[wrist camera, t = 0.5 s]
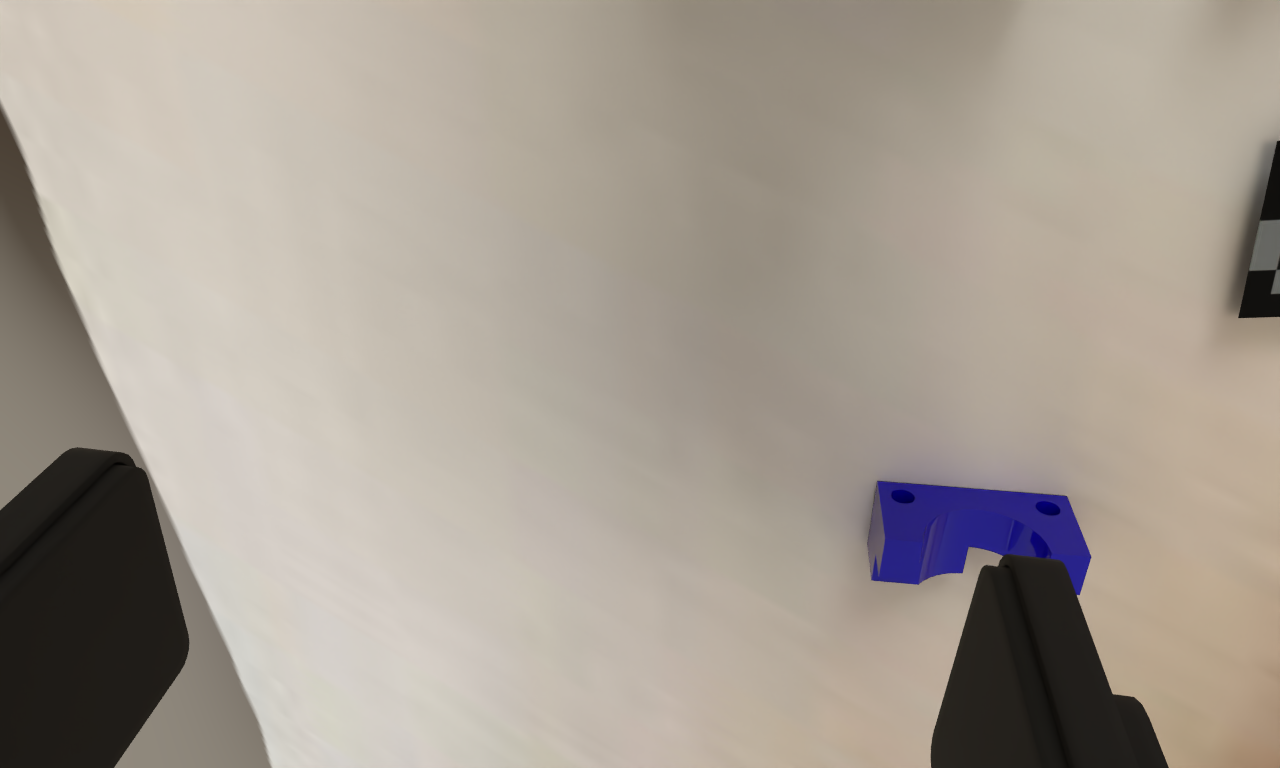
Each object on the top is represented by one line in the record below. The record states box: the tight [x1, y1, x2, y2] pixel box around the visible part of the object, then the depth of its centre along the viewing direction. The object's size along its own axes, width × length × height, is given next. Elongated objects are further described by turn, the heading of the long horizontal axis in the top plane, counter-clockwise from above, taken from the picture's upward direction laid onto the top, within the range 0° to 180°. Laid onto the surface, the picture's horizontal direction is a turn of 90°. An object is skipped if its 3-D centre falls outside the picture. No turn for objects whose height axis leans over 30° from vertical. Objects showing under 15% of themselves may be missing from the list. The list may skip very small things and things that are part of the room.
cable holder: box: [867, 481, 1091, 595], centre depth 42 cm, size 8×4×4 cm, turn 89°
